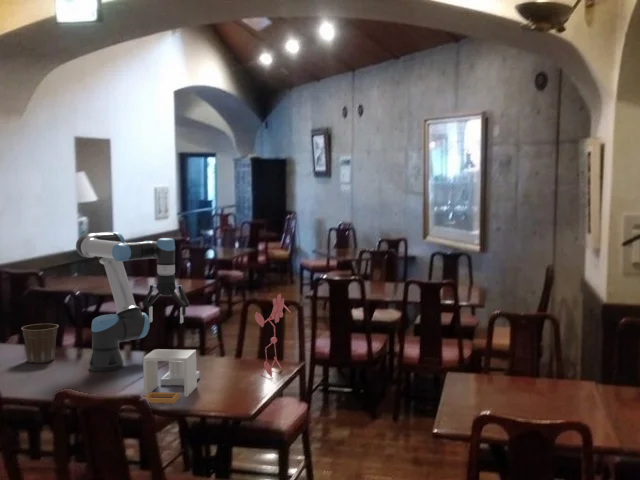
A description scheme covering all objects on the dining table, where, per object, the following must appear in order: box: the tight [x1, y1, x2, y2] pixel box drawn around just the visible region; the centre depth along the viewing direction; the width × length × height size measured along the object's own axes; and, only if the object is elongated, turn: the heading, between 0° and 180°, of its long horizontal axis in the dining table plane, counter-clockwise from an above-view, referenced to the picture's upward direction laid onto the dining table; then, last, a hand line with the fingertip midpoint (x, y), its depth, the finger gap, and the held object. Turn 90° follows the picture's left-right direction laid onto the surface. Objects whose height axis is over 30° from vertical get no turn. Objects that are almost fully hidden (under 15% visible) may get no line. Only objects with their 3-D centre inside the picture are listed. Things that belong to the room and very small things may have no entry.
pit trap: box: [144, 391, 181, 405], centre depth 272 cm, size 8×12×2 cm, turn 85°
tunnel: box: [142, 348, 198, 398], centre depth 283 cm, size 14×17×15 cm
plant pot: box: [20, 323, 60, 364], centre depth 334 cm, size 16×16×16 cm
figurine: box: [252, 293, 296, 379], centre depth 306 cm, size 15×26×35 cm, turn 158°
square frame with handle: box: [159, 370, 201, 386], centre depth 302 cm, size 24×13×9 cm, turn 175°
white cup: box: [168, 361, 184, 379], centre depth 295 cm, size 8×8×10 cm
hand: (166, 322), depth 309 cm, fingers open, 13 cm apart
